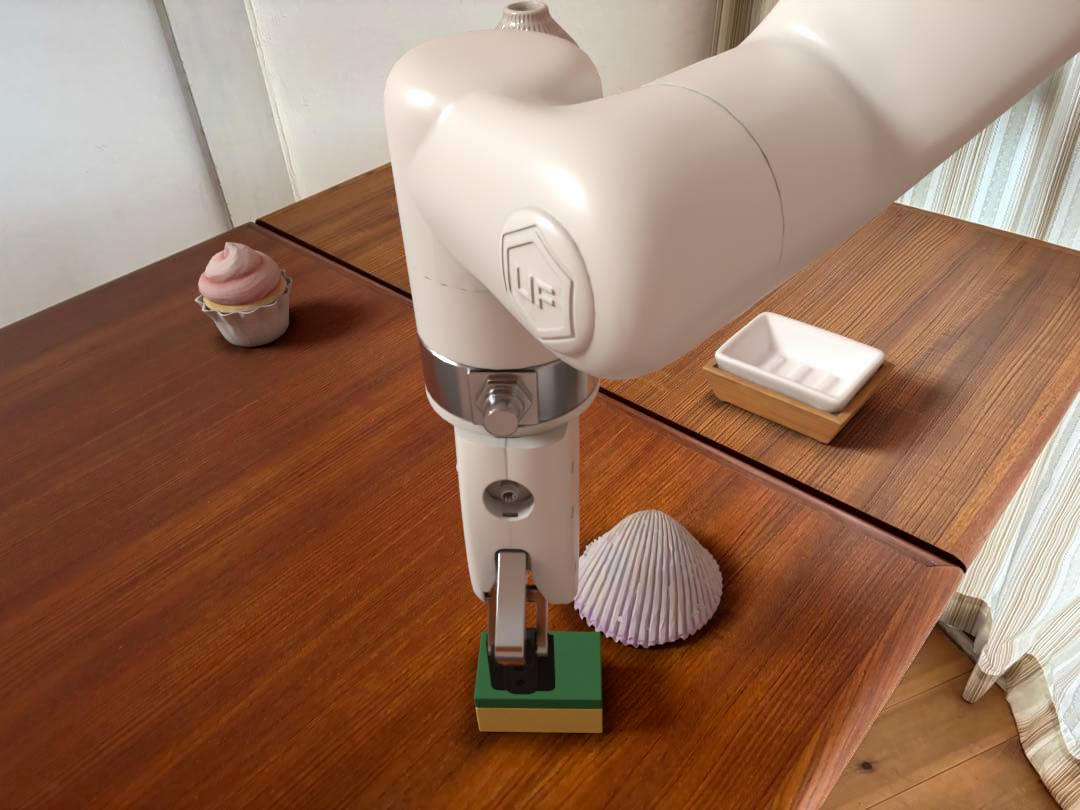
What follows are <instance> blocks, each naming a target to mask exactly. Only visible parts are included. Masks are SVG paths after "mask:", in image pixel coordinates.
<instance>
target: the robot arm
mask: <svg viewBox="0 0 1080 810" xmlns="http://www.w3.org/2000/svg"><path fill="white" fill-rule="evenodd" d="M578 46H579V45H578ZM578 46H576V45H575V44H574V43H572V42H570V41H568V40H566V39H563V38H560V37H557V36H553V35H549V34H545V33H541V32H536V31H529V30H518V29H495V28H490V29H475V30H468V31H467V30H466V31H461V32H456V33H452V34H447V35H444V36H440V37H437V38H434V39H431V40H428V41H426V42H424V43H421V44H418V45H416V46H415V47H413V48H411V49H409V50H408V51H407V52H406V53H405V54H403V55H402V56H401V57H400V58H399V59H398V60H397V61H396V62H395V63H394V65H393V66H392V68H391V70H390V72H389V74H388V76H387V78H386V81H385V85H384V88H383V89H384V91H383V117H384V125H385V131H386V139H387V144H388V151H389V157H390V163H391V170H392V171H391V172H392V177H393V184H394V190H395V196H396V204H397V210H398V216H399V223H400V229H401V235H402V236H401V237H402V242H403V248H404V255H405V261H406V266H407V274H408V280H409V281H408V282H409V287H410V292H411V293H410V294H411V298H412V305H413V311H414V312H413V313H414V318H415V324H416V335H417V340H418V347H419V354H420V361H421V362H420V363H421V368H422V374H423V380H424V386H425V392H426V397H427V400H428V402H429V405H430V406H431V408H432V409H433V410H434V412H436V413H437V415H438V416H439V417H440V418H442V419H443V420H444V421H446V422H447V423H449V424H451V426H453V430H454V443H455V455H456V465H455V470H456V472H457V476H458V477H457V478H458V489H459V499H460V509H461V510H460V511H461V518H462V527H463V529H462V530H463V537H464V543H465V552H466V561H467V567H468V572H469V578H470V582H471V587H472V591H473V593H474V594H475V595H476V597H477V598H478V599H479V600H480V601H481V602H483V603H485V604H486V603H487V631H488V634H487V635H486V649H487V657H488V665H489V673H490V681H491V687H492V688H493V689H495V690H502V691H508V692H510V693H512V694H521V695H527V694H533V693H535V692H536V691H552V690H554V689H555V654H554V635H550V634H549V633H548V631H549V604H550V605H569V604H570V603H572V602H571V601H572V600H573V599H574V598H575V596H576V595H577V592H578V581H579V558H580V532H581V531H580V530H581V529H580V528H581V527H580V526H581V525H580V524H581V441H580V439H581V438H580V436H581V435H580V415H583V414H584V412H586V411H587V410H588V408H589V407H590V406H591V405H592V404H593V402H594V401H595V399H596V398H597V396H598V393H599V390H600V387H601V379H602V380H607V381H608V380H609V381H629V380H634V379H638V378H642V377H645V376H648V375H650V374H653V373H655V372H659V371H661V370H662V369H664V368H666V367H667V366H669V365H671V364H673V363H674V362H676V361H678V360H679V359H681V358H682V357H684V356H685V355H686V354H688V353H689V352H691V351H692V350H694V349H696V348H697V347H698V346H699V345H701V344H702V343H703V342H705V341H706V340H708V339H709V338H710V337H712V336H713V335H715V334H717V333H718V332H719V331H721V330H722V329H724V328H725V327H726V326H727V325H729V324H730V323H732V322H733V321H734V320H736V319H738V318H739V317H741V316H742V315H743V314H745V313H746V312H748V310H749V309H751V308H752V307H753V306H755V304H758V302H759V301H761V300H762V299H763V298H765V297H767V295H769V294H770V293H772V292H773V291H775V290H776V289H777V288H779V287H780V286H782V285H783V284H785V283H786V282H788V281H789V280H790V279H792V278H793V277H795V276H796V275H798V274H799V273H800V272H801V271H804V270H805V269H806V268H807V267H809V266H811V265H812V264H814V263H815V262H817V261H819V260H820V259H821V258H823V257H825V256H826V255H827V254H829V253H830V252H831V251H833V250H834V249H836V248H837V247H839V246H841V245H842V244H843V243H845V242H846V241H847V240H849V239H850V238H851V237H852V236H854V235H855V234H856V233H857V232H859V231H860V230H861V229H863V228H864V227H866V226H867V225H868V224H869V223H870V222H871V221H873V220H874V219H875V218H877V217H878V216H879V215H881V214H882V213H883V212H884V211H885V210H886V209H888V208H889V207H890V206H892V205H893V204H894V203H895V202H896V201H897V200H899V199H900V198H902V197H903V196H904V195H905V194H906V193H907V192H909V190H911V189H912V188H914V187H915V186H916V185H917V184H918V183H919V182H920V181H922V180H923V179H924V178H926V177H927V176H928V175H930V174H931V173H932V172H933V171H934V170H935V169H937V168H938V167H939V166H941V165H942V164H943V163H944V162H946V161H947V160H948V159H949V158H950V157H952V156H953V155H954V154H956V152H958V151H960V149H961V148H963V147H964V146H966V144H968V143H969V142H970V141H972V139H974V138H975V137H976V136H977V135H979V134H980V133H982V132H983V131H984V130H985V129H986V128H987V127H989V126H990V125H991V124H992V123H994V122H995V121H996V120H997V119H999V118H1000V117H1001V116H1003V115H1004V114H1006V112H1008V111H1009V110H1010V109H1011V108H1013V107H1014V106H1015V105H1016V104H1017V103H1019V101H1021V100H1022V99H1024V97H1026V96H1028V95H1029V94H1030V93H1031V92H1032V91H1033V90H1035V89H1036V88H1037V87H1038V86H1039V85H1041V84H1042V83H1043V82H1045V81H1046V80H1047V79H1048V78H1049V77H1051V76H1052V75H1053V74H1054V73H1055V72H1057V71H1058V70H1059V69H1060V68H1061V67H1063V66H1064V65H1066V64H1067V63H1068V62H1069V61H1070V60H1071V59H1072V58H1074V57H1075V56H1076V55H1078V54H1079V53H1080V0H778V1H777V3H776V4H775V5H774V6H773V8H772V9H771V10H770V11H769V12H768V13H767V14H766V16H765V18H764V19H763V20H762V21H761V22H760V23H759V24H758V25H757V26H756V27H755V28H754V29H753V31H752V32H751V33H749V35H747V37H745V39H744V40H742V41H741V42H740V44H738V45H737V46H735V47H734V48H731V49H728V50H726V51H723V52H720V53H719V54H718V53H717V54H716V55H713V56H710V57H707V58H704V59H702V60H700V61H697V62H695V63H693V64H690V65H688V66H686V67H682V68H681V69H678V70H676V71H673V72H670V73H668V74H666V75H664V76H660V77H658V78H655V79H654V80H651V81H649V82H646V83H644V84H642V85H639V86H637V87H636V88H634V89H631V90H628V91H623V92H620V93H616V94H611V95H608V96H604V92H603V85H602V79H601V76H600V73H599V71H598V69H597V66H596V65H595V64H594V61H593V60H592V59H591V57H590V56H589V54H588V53H586V52H585V51H584V50H583V49H582V48H581V47H580V46H579V47H580V48H581V49H580V48H579V47H578ZM528 571H530V574H531V581H532V583H533V584H528V574H529V572H528ZM528 603H535V627H529V626H528V627H527V611H528V609H527V608H528Z"/></svg>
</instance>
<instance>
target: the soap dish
mask: <svg viewBox="0 0 1080 810" xmlns="http://www.w3.org/2000/svg"><path fill="white" fill-rule="evenodd" d="M895 367H896V364H895V363H893V362H890V361H889V360H886V353H885V352H884V351H883V350H881V349H879V348H876V347H874V346H871V345H869V344H866V343H863V342H860V341H858V340H855V339H852V338H851V337H850V338H849V337H847V336H844V335H842V334H838V333H836V332H834V331H830V330H827V329H824V328H821V327H819V326H816V325H813V324H810V323H807V322H804V321H800V320H797V319H794V318H791V317H789V316H785V315H782V314H779V313H775V312H772V311H764V312H761V313H759V314H758V315H756V316H755V317H754V318H753V319H752V320H750V321H749V322H748V323H747V324H745V325H744V326H743V327H742V328H740V329H739V330H738V331H737V332H735V333H734V334H733V335H732V336H731V337H729V338H728V339H727V340H726V341H725V342H724V343H722V344H721V346H719V347H718V349H716V351H715V353H714V356H713V357H712V358H711V359H710V360H709V361H707V362H706V363H705V364H704V365H702V371H703V373H704V376H705V378H706V379H707V382H708V383H709V386H710V387H711V389H712V391H713V393H714V395H715V397H716V398H717V399H718V400H719V401H720V402H721V403H729V404H731V405H733V406H735V407H738V408H740V409H742V410H745V411H748V412H749V413H752V414H755V415H756V416H759V417H762V418H764V419H767V420H769V421H771V422H773V423H776V424H778V425H781V426H783V427H785V428H787V429H790V430H792V431H795V432H797V433H800V434H802V435H804V436H806V437H808V438H811V439H814V440H816V441H817V442H818V443H820V444H826V445H829V444H830V443H831V442H832V441H833V440H834V438H835V437H836V436H837V435H838V434H839V433H840V432H841V431H842V429H844V427H845V426H846V425H847V424H848V423H849V422H850V420H852V419H853V417H854V416H855V415H857V413H858V412H859V411H860V409H861V408H862V407H864V405H865V404H866V403H867V402H868V400H869V399H870V398H871V397H872V396H873V395H874V394H875V393H876V391H877V390H878V389H879V387H880V386H881V385H882V383H883V382H884V381H885V380H886V378H887V377H888V376H889V374H890V373H891V372H892V371H893V370H894V368H895Z"/></svg>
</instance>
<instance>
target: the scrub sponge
mask: <svg viewBox="0 0 1080 810" xmlns="http://www.w3.org/2000/svg"><path fill="white" fill-rule="evenodd" d="M480 633H481V634H480V641H479V650H478V651H479V652H478V659H477V660H478V661H477V668H476V676H475V685H474V693H473V700H474V707H475V712H476V718H477V724H478V729H479V732H483V733H485V732H489V733H491V732H492V733H494V732H496V733H558V734H559V733H563V734H564V733H565V734H583V733H584V734H602V733H603V668H602V667H603V665H602V663H603V662H602V661H603V660H602V631H600V632H595V631H577V630H576V631H575V630H574V631H571V630H570V631H568V630H567V631H566V630H565V631H564V630H563V631H561V630H559V631H558V630H557V631H556V630H555V631H554V630H551V631H549V630H548V633H549V634H550V635H554V654H555V689H554V690H552V691H536V692H535V693H533V694H527V695H521V694H512V693H510V692H508V691H502V690H495V689H493V688H492V687H491V681H490V673H489V665H488V657H487V649H486V635H487V634H488V630H482V631H481V632H480Z"/></svg>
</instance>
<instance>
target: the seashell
mask: <svg viewBox="0 0 1080 810" xmlns="http://www.w3.org/2000/svg"><path fill="white" fill-rule="evenodd" d="M723 587H724V584H723V577H722V571H720V564H718V562H717V559H715V558H714V555H713V553H710V551H709V549H708V548H705V547H703V545H702V544H700V542H699V541H698V540H697V539H696V537H695V536H693V534H692V533H690V531H689V530H688V529H687V528H686V527H685V526H683V525H682V524H681V523H680V522H679V521H678V520H676V519H675V518H674V517H672V516H671V515H669V514H667V513H664V511H662V510H661V511H660V510H657V509H642V510H638V511H637V512H634V513H630V514H629V515H628V516H626V517H624V518H623V519H621V520H620V521H619V522H618V523H616V525H614V526H613V527H612V528H611V529H610V530H609V531H607V532H605V533H603V534H602V536H600V535H599V536H598V538H597V539H596V538H595V539H593V541H591V542H590V543H588V545H587V544H586V545H585V550H583V554H582V555H580V556H579V581H578V592H577V595H576V596H575V598H574V599H573V600H572V601H571V602H570V603H573V602H574V604H573V605H574V606H573V608H574V611H575V612H576V611H577V610H579V616H580V619H581V620H583V619H584V618H585V620H586V624H587V626H588V627H591V626H594V632H601V633H602V632H603V634H604V636H605V638H606V639H607V638H609V637H610V638H611V639H612V640H613V642H615V643H618V642H619V641H620V643H622V645H623V646H629V645H632V646H633V647H634V649H635V648H638V647H639V646H640V645H641V646H642V647H643V648H644V649H649V647H651V646H652V647H653V646H656V645H664V644H665V643H672V642H675V641H677V640H679V639H682V640H683V641H685V640H687V638H688V637H689V636H690V635H691V636H693V635H695V634H696V632H697V630H699V631H701V629H702V628H703V626H706V625H707V623H708V622H709V620H712V617H713V615H714V614H715V613H716V611H717V610H718V607H719V606H720V602H721V596H722V595H723V591H722V590H723Z"/></svg>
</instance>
